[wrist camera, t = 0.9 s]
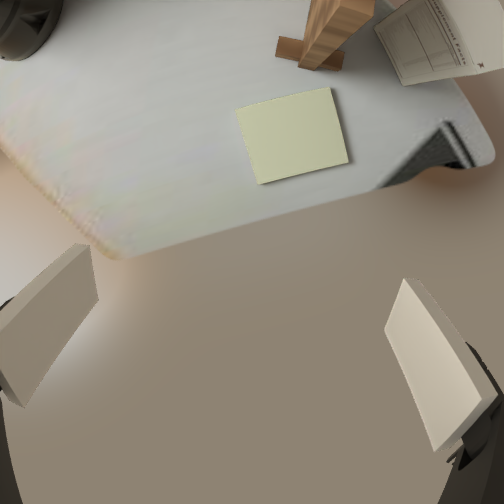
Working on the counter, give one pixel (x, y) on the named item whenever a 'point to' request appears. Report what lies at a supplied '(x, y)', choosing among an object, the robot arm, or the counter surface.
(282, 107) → the sticky note pad
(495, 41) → the supplement box
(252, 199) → the counter surface
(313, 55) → the screen
